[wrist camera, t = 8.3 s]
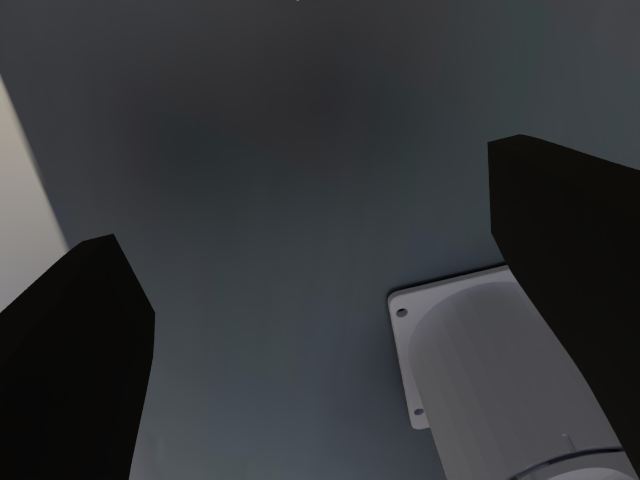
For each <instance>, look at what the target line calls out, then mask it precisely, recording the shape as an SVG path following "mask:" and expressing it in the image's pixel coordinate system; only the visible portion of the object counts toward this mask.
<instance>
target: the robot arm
mask: <svg viewBox="0 0 640 480" xmlns="http://www.w3.org/2000/svg"><path fill="white" fill-rule="evenodd" d="M488 165H489V190H490V215H491V233H492V235H493V237H494V239H495V241H496V243H497V245H498V247H499V249H500V252H501V254H502V256H503V258H504V259H505V261H506V263H507V265H505V266H501V267H496V268H492V269H488V270H484V271H480V272H475V273H471V274H467V275H463V276H458V277H454V278H450V279H446V280H442V281H437V282H433V283H429V284H425V285H421V286H416V287H412V288H408V289H404V290H399V291H396V292H394V293H392V294H391V295H390V296H389V298H388V307H389V312H390V318H391V323H392V328H393V333H394V339H395V344H396V349H397V354H398V360H399V365H400V370H401V375H402V381H403V386H404V391H405V396H406V402H407V407H408V412H409V417H410V422H411V425H412V427H413V428H415V429H424V428H429V427H430V429H431V432H432V435H433V438H434V441H435V444H436V447H437V450H438V453H439V456H440V459H441V463H442V466H443V469H444V472H445V475H446V478H447V480H640V170H637V169H633V168H630V167H626V166H623V165H620V164H617V163H613V162H610V161H607V160H604V159H601V158H597V157H594V156H591V155H588V154H585V153H582V152H579V151H576V150H573V149H570V148H567V147H564V146H561V145H558V144H555V143H552V142H548V141H545V140H542V139H538V138H535V137H531V136H526V135H521V134H519V135H515V136H511V137H507V138H503V139H499V140H495V141H491V142H488ZM403 308H404V310H403V311H400V312H397V311H398V310H399V309H403ZM154 330H155V312H154V310H153V308H152V306H151V304H150V302H149V300H148V298H147V296H146V295H145V293H144V291H143V289H142V287H141V285H140V283H139V281H138V279H137V277H136V276H135V274H134V272H133V270H132V268H131V266H130V264H129V262H128V260H127V258H126V257H125V255H124V253H123V251H122V249H121V247H120V245H119V243H118V241H117V239H116V238H115V236H114V234H110V235H106V236H102V237H98V238H94V239H90V240H86V241H82V242H81V243H79V244H78V245H77V246H75V247H74V248H72V249H71V250H70V251H69V252H67V253H66V254H65V255H64V256H63V257H61V258H60V259H59V260H58V261H57V262H56V263H55V264H54V265H52V266H51V267H50V268H49V269H48V270H47V271H46V272H45V273H44V274H42V276H40V277H39V278H38V279H37V280H36V281H35V282H34V283H33V284H31V285H30V286H29V287H28V288H27V289H26V290H25V291H24V292H23V293H22V294H21V295H19V296H18V297H17V298H16V299H15V300H14V301H13V302H12V303H11V304H10V305H8V306H7V307H6V308H5V309H4V310H3V311H2V312H1V313H0V480H129V475H130V469H131V463H132V458H133V453H134V449H135V444H136V439H137V434H138V429H139V425H140V420H141V415H142V410H143V406H144V401H145V396H146V391H147V386H148V381H149V376H150V371H151V365H152V360H153V349H154Z"/></svg>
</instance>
